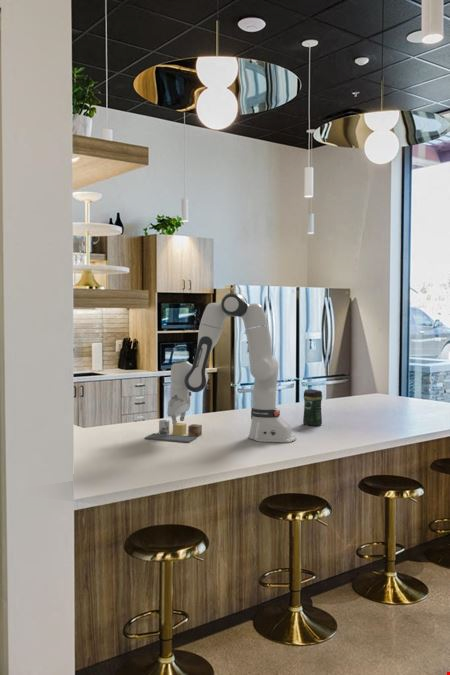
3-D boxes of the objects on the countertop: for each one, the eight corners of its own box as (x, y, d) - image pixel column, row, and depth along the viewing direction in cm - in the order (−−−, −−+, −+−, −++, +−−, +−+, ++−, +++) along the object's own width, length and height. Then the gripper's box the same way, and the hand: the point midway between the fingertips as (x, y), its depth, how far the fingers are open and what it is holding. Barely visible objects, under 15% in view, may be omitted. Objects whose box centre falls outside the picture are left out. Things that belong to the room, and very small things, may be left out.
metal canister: (170, 432, 316) (171, 420, 316) (166, 434, 312) (167, 422, 311) (161, 431, 318) (161, 419, 317) (157, 433, 313) (157, 421, 313)
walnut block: (201, 435, 311) (201, 424, 311) (198, 437, 307) (198, 426, 306) (191, 434, 313) (192, 424, 313) (188, 436, 308) (188, 426, 308)
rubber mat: (196, 438, 303) (196, 436, 303) (188, 442, 294) (188, 441, 294) (153, 434, 310) (153, 433, 310) (144, 439, 300) (144, 437, 300)
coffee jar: (324, 425, 340) (325, 390, 338) (314, 426, 334) (314, 391, 333) (310, 422, 347) (311, 387, 346) (300, 424, 342) (301, 389, 341)
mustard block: (186, 433, 314) (186, 423, 314) (182, 435, 309) (182, 425, 309) (176, 433, 315) (176, 422, 315) (172, 435, 311) (172, 424, 310)
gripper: (177, 397, 300) (176, 427, 301) (192, 391, 320) (192, 419, 321) (164, 396, 302) (163, 425, 303) (181, 390, 322) (180, 418, 323)
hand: (178, 422), depth 312 cm, fingers open, 8 cm apart
